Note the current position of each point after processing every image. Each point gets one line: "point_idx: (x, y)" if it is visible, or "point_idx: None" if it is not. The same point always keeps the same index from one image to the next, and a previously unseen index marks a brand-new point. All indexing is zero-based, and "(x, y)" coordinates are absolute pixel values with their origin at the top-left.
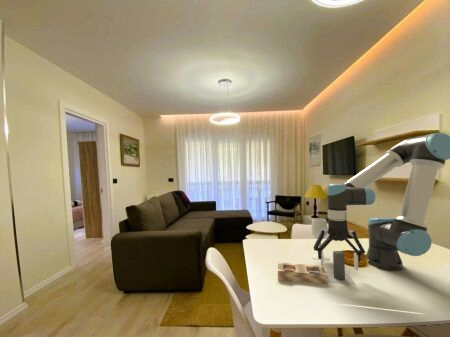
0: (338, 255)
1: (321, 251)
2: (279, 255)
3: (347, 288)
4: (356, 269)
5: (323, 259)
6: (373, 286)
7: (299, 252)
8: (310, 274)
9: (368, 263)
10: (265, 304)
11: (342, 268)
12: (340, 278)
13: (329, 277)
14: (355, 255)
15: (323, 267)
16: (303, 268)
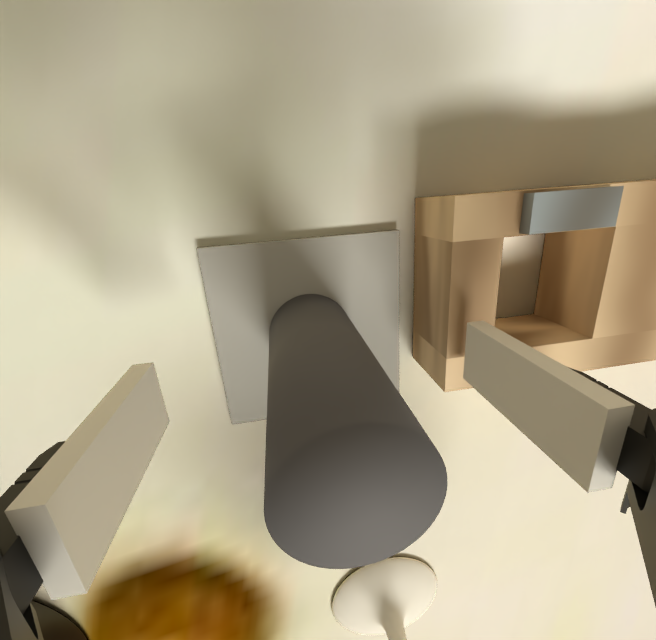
0: (372, 406)
1: (653, 421)
2: (623, 537)
3: (271, 177)
4: (148, 366)
5: (375, 574)
6: (57, 280)
7: (496, 617)
8: (592, 186)
9: (73, 630)
10: None
11: (295, 335)
12: (309, 297)
13: (383, 316)
14: (66, 507)
15: (470, 323)
16: (625, 284)
